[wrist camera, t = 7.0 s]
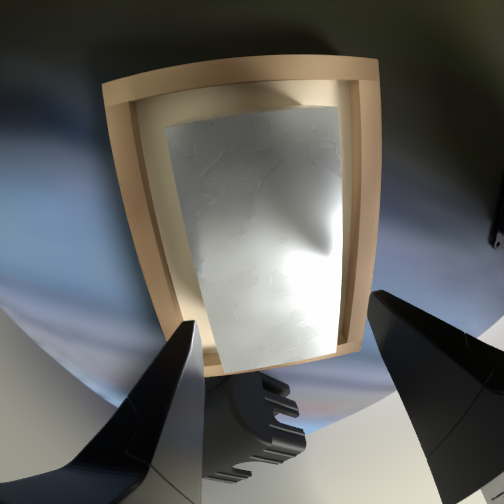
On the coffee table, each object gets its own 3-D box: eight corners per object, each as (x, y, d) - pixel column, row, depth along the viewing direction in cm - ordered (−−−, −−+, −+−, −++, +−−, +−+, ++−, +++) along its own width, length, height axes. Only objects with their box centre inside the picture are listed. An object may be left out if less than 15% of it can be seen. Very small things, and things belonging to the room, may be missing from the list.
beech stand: (349, 64, 12) (378, 59, 10) (344, 320, 20) (359, 350, 17) (123, 86, 12) (101, 84, 9) (184, 344, 19) (181, 379, 17)
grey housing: (312, 300, 16) (336, 352, 13) (221, 316, 16) (224, 373, 12) (302, 104, 11) (337, 106, 8) (180, 120, 11) (164, 128, 8)
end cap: (226, 349, 20) (232, 434, 14) (296, 382, 23) (315, 453, 17) (156, 408, 23) (150, 475, 17) (221, 432, 26) (225, 492, 20)
